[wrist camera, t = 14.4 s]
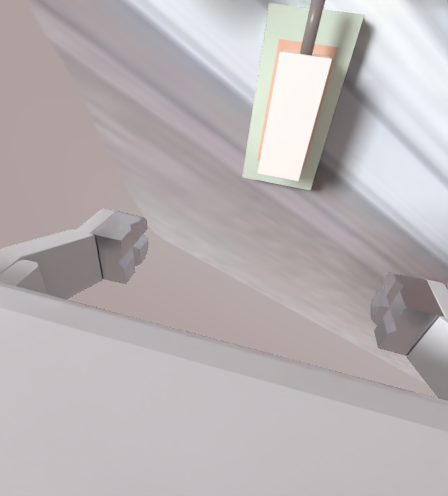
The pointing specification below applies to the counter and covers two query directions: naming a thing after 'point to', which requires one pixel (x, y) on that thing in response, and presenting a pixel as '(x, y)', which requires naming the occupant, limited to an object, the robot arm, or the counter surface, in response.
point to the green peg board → (340, 50)
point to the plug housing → (294, 103)
